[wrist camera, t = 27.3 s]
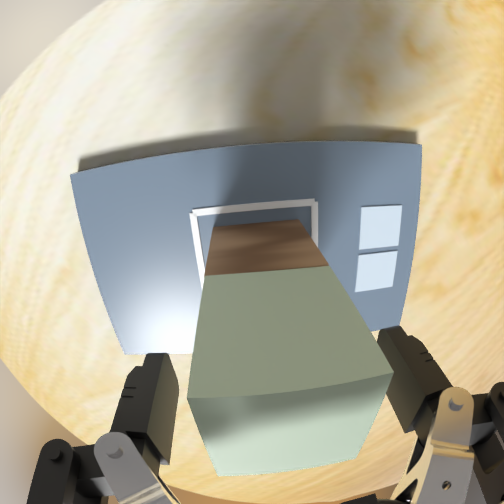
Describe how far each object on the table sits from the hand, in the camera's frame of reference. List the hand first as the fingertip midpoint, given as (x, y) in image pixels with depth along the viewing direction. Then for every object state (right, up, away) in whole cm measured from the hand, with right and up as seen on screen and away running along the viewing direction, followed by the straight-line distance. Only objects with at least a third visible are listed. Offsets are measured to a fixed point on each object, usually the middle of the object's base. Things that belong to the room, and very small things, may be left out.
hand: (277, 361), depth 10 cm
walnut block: (0, +3, +8) cm, 8 cm away
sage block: (0, +1, +2) cm, 3 cm away
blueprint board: (-1, +4, +9) cm, 10 cm away
